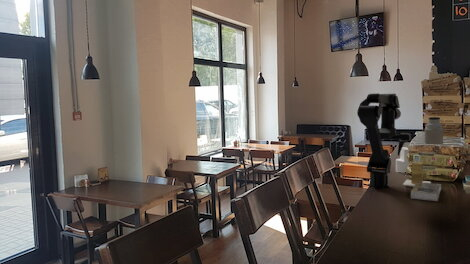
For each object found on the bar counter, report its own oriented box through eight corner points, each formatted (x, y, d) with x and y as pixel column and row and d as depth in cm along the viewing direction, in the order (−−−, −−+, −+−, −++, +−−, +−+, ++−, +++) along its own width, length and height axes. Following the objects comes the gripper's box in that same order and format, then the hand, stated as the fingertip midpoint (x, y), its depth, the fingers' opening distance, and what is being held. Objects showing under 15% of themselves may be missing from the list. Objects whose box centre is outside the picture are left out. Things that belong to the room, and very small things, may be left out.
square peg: (421, 184, 160) (421, 163, 159) (411, 183, 162) (411, 163, 161) (422, 182, 163) (422, 162, 162) (412, 181, 165) (412, 161, 164)
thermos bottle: (421, 172, 185) (422, 117, 182) (437, 172, 184) (439, 116, 182) (427, 176, 177) (429, 118, 175) (445, 175, 177) (446, 117, 174)
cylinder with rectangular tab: (417, 173, 184) (417, 149, 182) (397, 173, 185) (398, 149, 184) (412, 169, 192) (412, 147, 191) (393, 169, 194) (394, 147, 193)
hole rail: (437, 201, 137) (437, 194, 137) (410, 198, 142) (410, 191, 141) (440, 190, 152) (440, 184, 152) (416, 187, 157) (416, 181, 156)
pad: (428, 188, 156) (428, 186, 155) (403, 185, 161) (403, 184, 161) (430, 182, 164) (430, 181, 164) (406, 180, 169) (406, 179, 169)
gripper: (362, 122, 167) (362, 156, 168) (407, 122, 157) (407, 159, 158) (368, 120, 176) (368, 152, 177) (411, 120, 166) (410, 155, 167)
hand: (387, 154), depth 170 cm, fingers open, 9 cm apart
